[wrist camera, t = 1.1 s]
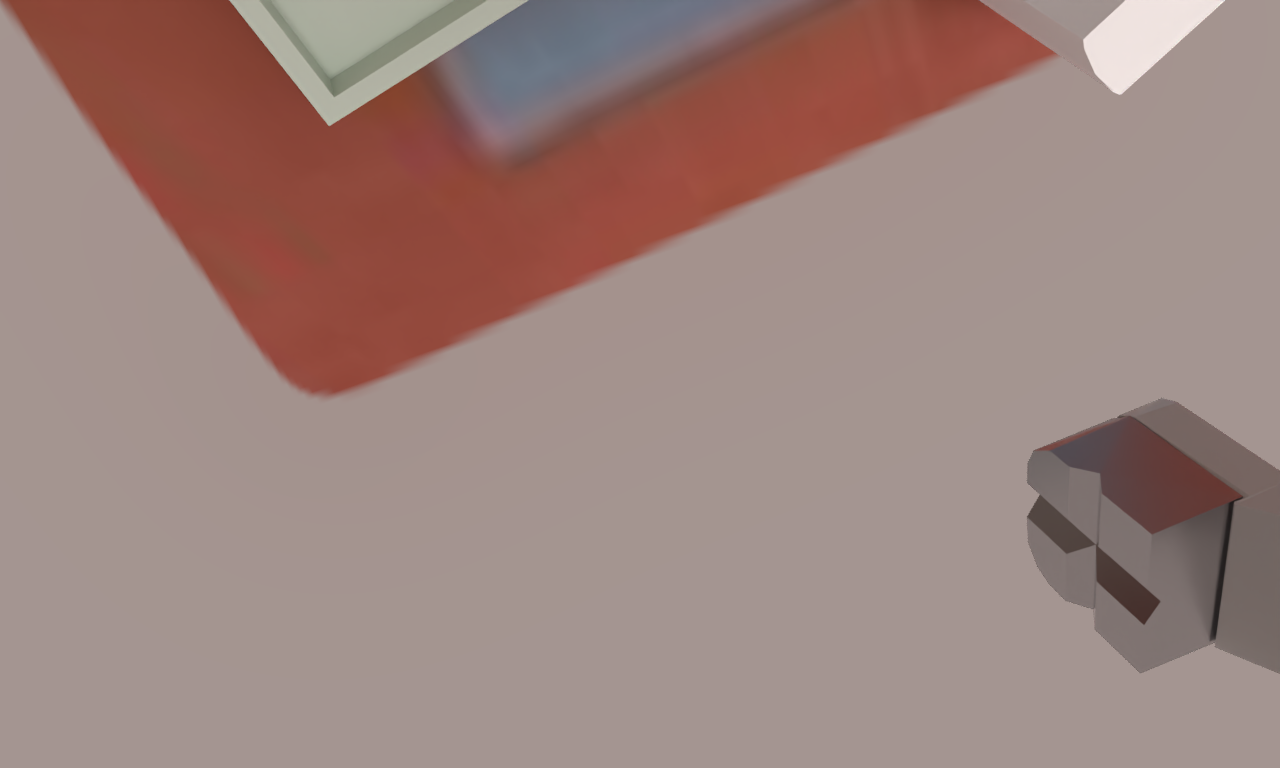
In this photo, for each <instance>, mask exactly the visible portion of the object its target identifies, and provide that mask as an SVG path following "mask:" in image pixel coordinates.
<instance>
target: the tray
mask: <svg viewBox="0 0 1280 768" xmlns="http://www.w3.org/2000/svg"><path fill="white" fill-rule="evenodd" d="M526 1H528V0H230V2H231V3H232V4H233V5H234V7H235V8H236V9H237V10H238V12H239V13H240V14H241V16H242V17H243V18H244V19H245V21H246V22H247V23H248V24H249V26H250V27H251V28H252V29H253V31H254V32H255V33H256V34H257V36H258V37H259V38H260V40H261V41H262V42H263V43H264V45H265V46H266V47H267V48H268V50H269V51H270V52H271V53H272V55H273V56H274V57H275V58H276V60H277V61H278V62H279V64H280V65H281V66H282V67H283V69H284V70H285V71H286V72H287V74H288V75H289V76H290V77H291V79H292V80H293V81H294V83H295V84H296V85H297V86H298V88H299V89H300V90H301V91H302V93H303V94H304V95H305V96H306V98H307V99H308V100H309V101H310V103H311V104H312V105H313V107H314V108H315V109H316V110H317V112H318V113H319V114H320V115H321V117H322V118H323V119H324V120H325V122H326V123H327V124H328V125H329V126H330V125H332V124H333V123H335V122H337V121H338V120H340V119H341V118H343V117H344V116H346V115H348V114H349V113H351V112H352V111H354V110H356V109H357V108H359V107H360V106H362V105H363V104H365V103H367V102H368V101H370V100H371V99H373V98H375V97H376V96H378V95H379V94H381V93H382V92H384V91H386V90H387V89H389V88H390V87H392V86H394V85H395V84H397V83H398V82H400V81H401V80H403V79H405V78H406V77H408V76H409V75H411V74H413V73H414V72H416V71H417V70H419V69H420V68H422V67H424V66H425V65H427V64H428V63H430V62H431V61H433V60H435V59H436V58H438V57H439V56H441V55H443V54H444V53H446V52H447V51H449V50H450V49H452V48H454V47H455V46H457V45H458V44H460V43H462V42H463V41H465V40H466V39H468V38H469V37H471V36H473V35H474V34H476V33H477V32H479V31H481V30H482V29H484V28H485V27H487V26H488V25H490V24H492V23H493V22H495V21H496V20H498V19H500V18H501V17H503V16H504V15H506V14H507V13H509V12H511V11H512V10H514V9H515V8H517V7H519V6H520V5H522V4H523V3H525V2H526Z"/></svg>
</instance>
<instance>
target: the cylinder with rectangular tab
mask: <svg viewBox="0 0 1280 768" xmlns="http://www.w3.org/2000/svg"><path fill="white" fill-rule="evenodd" d="M979 1H981V2H982V3H984V4H985V5H987V6H988V7H989V8H991V9H992V10H994V11H995V12H997V13H998V14H1000V15H1001V16H1003V17H1004V18H1006V19H1007V20H1008V21H1010V22H1011V23H1013V24H1014V25H1016V26H1017V27H1019V28H1020V29H1022V30H1023V31H1025V32H1026V33H1027V34H1029V35H1030V36H1032V37H1033V38H1035V39H1036V40H1038V41H1039V42H1041V43H1042V44H1044V45H1045V46H1047V47H1048V48H1049V49H1051V50H1052V51H1054V52H1055V53H1057V54H1058V55H1060V56H1061V57H1063V58H1064V59H1066V60H1067V61H1068V62H1070V63H1071V64H1073V65H1074V66H1076V67H1077V68H1079V69H1080V70H1082V71H1083V72H1085V73H1086V74H1088V75H1089V76H1091V77H1092V78H1093V79H1095V80H1096V81H1098V82H1099V83H1101V84H1102V85H1104V86H1105V87H1107V88H1108V89H1109V90H1111V91H1112V92H1114V93H1117V94H1120V95H1121V94H1122V93H1123V92H1124V91H1125V90H1126V89H1128V88H1129V87H1130V86H1131V85H1132V84H1133V83H1134V82H1135V81H1136V80H1138V79H1139V78H1140V77H1141V76H1142V75H1143V74H1144V73H1145V72H1146V71H1147V70H1149V69H1150V68H1151V67H1152V66H1153V65H1154V64H1155V63H1156V62H1157V61H1159V60H1160V59H1161V58H1162V57H1163V56H1164V55H1165V54H1166V53H1167V52H1169V51H1170V49H1172V48H1173V47H1174V46H1175V45H1176V44H1177V43H1178V42H1180V41H1181V40H1182V39H1183V38H1184V37H1185V36H1186V35H1187V34H1188V33H1190V32H1191V30H1193V29H1194V28H1195V27H1196V26H1197V25H1198V24H1200V23H1201V22H1202V21H1203V20H1204V19H1205V18H1206V17H1207V16H1208V15H1209V14H1211V13H1212V12H1213V11H1214V10H1215V9H1216V8H1217V7H1218V6H1219V5H1221V4H1222V3H1223V2H1224V1H1225V0H979Z"/></svg>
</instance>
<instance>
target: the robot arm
mask: <svg viewBox="0 0 1280 768" xmlns="http://www.w3.org/2000/svg"><path fill="white" fill-rule="evenodd" d="M1027 483H1028V484H1029V485H1030V486H1031V487H1032V488H1033V489H1034V490H1036V491H1037V492H1038V493H1039V494H1040V495H1039V497H1038V499H1037V501H1036V502H1035V504H1034V506H1033V508H1032V509H1031V511H1030V513H1029V515H1028V516H1027V529H1028V543H1029V546H1030V548H1031V551H1032V554H1033V556H1034V559H1035V562H1036V564H1037V567H1038V568H1039V570H1040V571H1041V573H1042V574H1043V576H1044V577H1045V579H1046V580H1047V582H1048V583H1049V584H1050V586H1052V587H1053V588H1054V590H1055V591H1056V592H1058V593H1059V595H1060V596H1061V597H1062V598H1063V599H1064V600H1066V601H1069V602H1072V603H1075V604H1078V605H1081V606H1084V607H1087V608H1091V609H1093V612H1094V626H1095V630H1096V631H1097V632H1098V633H1099V634H1100V635H1101V636H1102V637H1103V638H1104V639H1105V640H1106V641H1107V642H1109V644H1110V645H1111V646H1113V648H1115V649H1116V650H1117V651H1118V652H1119V653H1120V654H1121V655H1122V656H1123V657H1124V658H1125V659H1126V660H1127V661H1128V662H1129V663H1130V664H1131V665H1132V666H1133V667H1134V668H1135V669H1136V670H1137V671H1138V672H1139V673H1142V672H1145V671H1147V670H1150V669H1152V668H1155V667H1157V666H1160V665H1162V664H1164V663H1167V662H1169V661H1172V660H1174V659H1176V658H1179V657H1181V656H1184V655H1186V654H1189V653H1191V652H1193V651H1196V650H1198V649H1200V648H1203V647H1205V646H1208V645H1210V644H1213V643H1215V647H1216V648H1218V649H1221V650H1223V651H1225V652H1228V653H1230V654H1233V655H1235V656H1238V657H1240V658H1243V659H1245V660H1247V661H1250V662H1252V663H1255V664H1257V665H1260V666H1262V667H1265V668H1267V669H1269V670H1272V671H1274V672H1277V673H1279V674H1280V471H1279V470H1278V469H1276V468H1275V467H1273V466H1272V465H1270V464H1269V463H1267V462H1266V461H1264V460H1262V459H1261V458H1260V457H1258V456H1257V455H1255V454H1254V453H1252V452H1251V451H1249V450H1248V449H1246V448H1245V447H1243V446H1242V445H1240V444H1239V443H1237V442H1236V441H1234V440H1233V439H1231V438H1230V437H1229V436H1227V435H1226V434H1224V433H1223V432H1221V431H1220V430H1218V429H1217V428H1215V427H1214V426H1212V425H1211V424H1209V423H1208V422H1206V421H1205V420H1203V419H1201V418H1200V417H1198V416H1197V415H1196V414H1194V413H1192V412H1191V411H1190V410H1188V409H1187V408H1185V407H1184V406H1182V405H1181V404H1179V403H1178V402H1175V401H1172V400H1167V399H1163V398H1161V399H1158V400H1156V401H1153V402H1151V403H1149V404H1146V405H1144V406H1141V407H1139V408H1136V409H1134V410H1131V411H1129V412H1127V413H1124V414H1122V415H1120V416H1118V417H1117V418H1113V419H1110V420H1107V421H1105V422H1103V423H1101V424H1098V425H1095V426H1093V427H1090V428H1088V429H1086V430H1083V431H1081V432H1078V433H1076V434H1073V435H1071V436H1068V437H1066V438H1063V439H1061V440H1058V441H1056V442H1053V443H1051V444H1049V445H1046V446H1044V447H1042V448H1039V449H1036V450H1034V451H1033V453H1032V455H1031V457H1030V459H1029V461H1028V471H1027Z"/></svg>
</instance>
